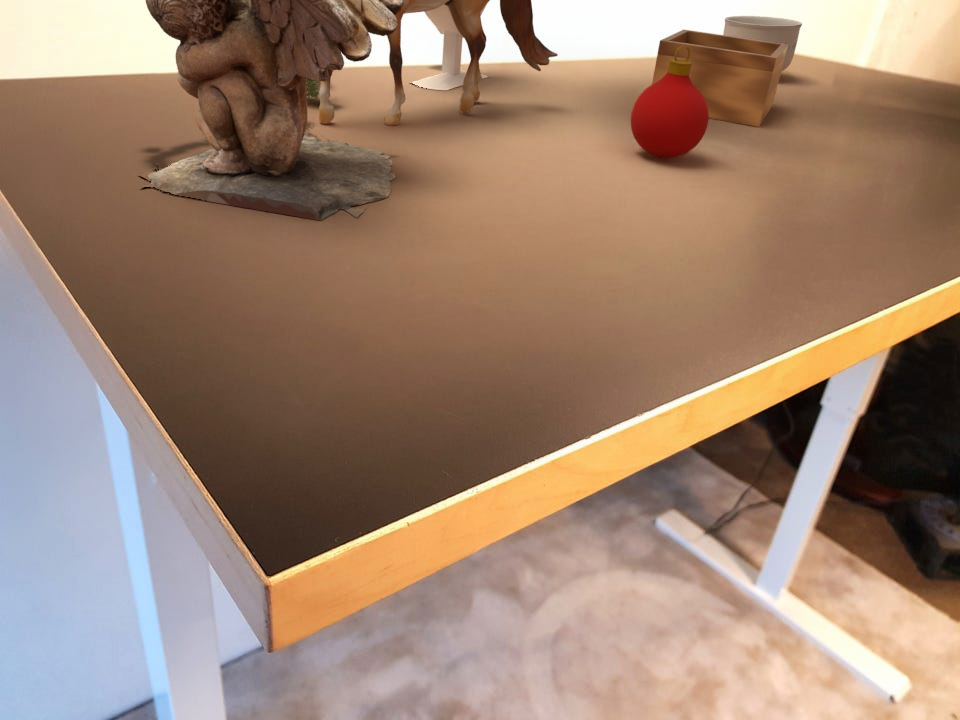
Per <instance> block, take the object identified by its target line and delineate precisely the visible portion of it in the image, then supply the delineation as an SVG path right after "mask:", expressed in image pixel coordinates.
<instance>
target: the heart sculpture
mask: <svg viewBox="0 0 960 720" xmlns="http://www.w3.org/2000/svg"><path fill="white" fill-rule="evenodd" d="M487 5H488V3H487V4H486V6H485V7H484V8H483V9H482V11H481V12H480V16H482V14H483V13H484V11H485V9H486V7H487ZM423 13H424V14H425V15H426V18H428V20H430V22H431V24H433V25H434V27H435V28H436V29H437V31H438V32H439V34H440V35H443V44H442V45H443V46H442V61H441V62H442V63H441V73H438V74H435V75H431V76H428V77H427V76H426V77H424V78H420V79H418V80H414V81H411V82H412V83H413V84H415V85H418V86H419V87H418V86H417V87H418V88H421V87H423V88H422V89H426V88H427V90H435V91H448V90H451V89H455V88H457V87H462V86H463V81H464V78H465V75H466V73H467V70H461V65H462V51H463V39H465V38H464V37H463V36H462V35H461V33H460V32H459V31H458V29H457V28H456V26H455V23H454V21H453V18H452V15H451V12H450V10H449V8H448V6H446V5H444V4H443V5H442V6H440V7H438V8H436V9H433V10H429V11H424V12H423ZM481 76H482V80H483V79H486V78H489V76H488V75H485V74H482V73H481ZM415 85H414V86H415Z"/></svg>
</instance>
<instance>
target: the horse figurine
mask: <svg viewBox="0 0 960 720" xmlns="http://www.w3.org/2000/svg"><path fill="white" fill-rule="evenodd" d="M490 1H491V0H403V7H402V9H401V11H400V12H399V13H397V14H396V15H394V16H395V17H396V20H397V29H396V30H395V31H394V32H393V33H392V34H389V36H387V35H386V38H387V40H388V44H389V55H388V63H389V64H388V65H389V67H390V69H391V71H392V75H393V81H394V102H393V104H392V106H391V107H389V109H388V111H387V112H386V115H385V117H384V121H383V124H384V125H386V126H397V125H399V124H400V123H401V118H402V112H401V107H402V105H403V104H404V103H405V102H406V99H407V98H406V94H405V88H404V85H403V78H402V77H403V76H402V75H403V74H402V73H403V72H402V71H403V64H404V63H403V62H404V61H403V55H402V47H401V42H402V19H403V16H404V15H406V14H413V13H414V14H415V13H425V12H424V11H429V10H433V9H436V8H438V7H440V6H442V5H443V4H444V5H446V6H448V8H449V10H450V12H451V15H452V18H453V21H454V23H455V26H456V28H457V29H458V31H459V32H460V33H461V35H462V36H463V37H464V38H463V39H464V40H465V43H466V44H467V48H468V52H469V56H470V62H469V65H468V67H467V70H466V71H467V73H466V75H465V78H464V81H463V85H462V88H463V89H462V90H463V92H462V93H461V95H460V99H459V102H460V103H459V109H460V110H459V111H460V112H461V113H462V114H467V113H468V112H470V111H472V109H473V108H474V105H475V102H477V101H479V99H480V96H481V91H480V90H479V85H480V84H481V82H482V81H483V79H482V76H481V74H482V73H481V69H480V62H479V61H480V59H481V57H482V55H483V53H484V51H485V49H486V46H487V44H486V43H487V36H486V34H485V31H484V29H483V24H482V17H481V16H482V15H481V16H480V12H481V11H482V9H483V8H484V7H485V6H486V7H487V5H488V4H489V3H490ZM486 4H487V5H486ZM486 7H485V8H486ZM499 10H500V14H501V17H502V21H503V23H504V25H505V28H506V31H507V33H508V34H509V35H510V36H511V38H512V40H513V41H514V43H515V44H516V46H517V47H518V49H519V51H520V54H521V57H522V59H523V61H524V62H525V63H526V64H527V65H529V66H530V67H532V69H533V70H536V71H538V72H541V71H542V69H541V67H540V66H548V65H549V64H550V62H551V60H550V59H549V58H554V57H558V56H559V54H558V53H557V52H554V51H552V50H550V49H549V48H548V47H547V46H546V45H544V44H543V43H542V41H541V40H540V39H539V38H538V36H536V32H535V29H534V12H533V4H532V0H499ZM328 74H329V81H326V82H324V81H321V82H320V84H319V85H320V86H319V88H320V90H318V92H319V94H318V95H319V96H318V98H319V101H320V103H319V107H318V122H319V123H320V124H322V125H326V124H330V123H331V122H332V121H333V120H334V118H335V107H334V106H333V104H331V103H330V102H329V100H330V97H331V79H332V76H333V72H332V73H328Z"/></svg>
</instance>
